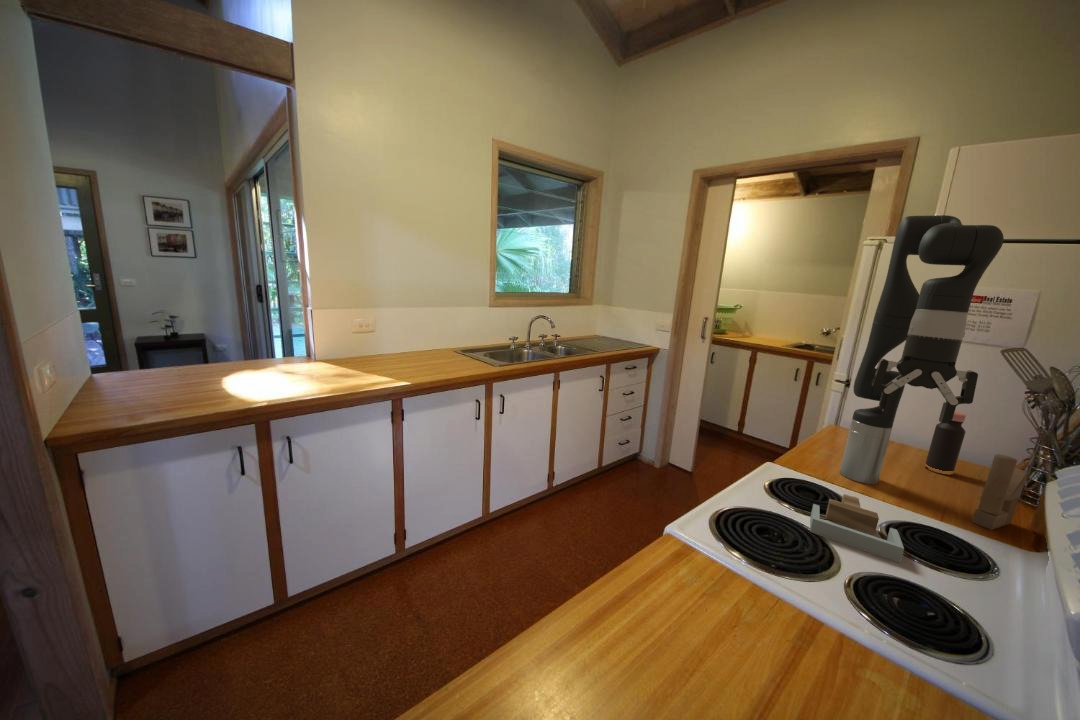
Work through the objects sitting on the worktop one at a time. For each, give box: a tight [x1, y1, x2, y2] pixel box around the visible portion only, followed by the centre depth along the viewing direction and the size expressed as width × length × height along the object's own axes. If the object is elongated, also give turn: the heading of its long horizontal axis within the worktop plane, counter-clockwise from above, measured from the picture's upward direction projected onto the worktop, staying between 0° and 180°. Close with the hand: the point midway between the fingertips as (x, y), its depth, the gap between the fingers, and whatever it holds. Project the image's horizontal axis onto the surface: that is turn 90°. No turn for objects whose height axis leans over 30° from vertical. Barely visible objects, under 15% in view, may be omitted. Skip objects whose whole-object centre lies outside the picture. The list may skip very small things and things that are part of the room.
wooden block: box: [971, 453, 1029, 531], centre depth 99 cm, size 4×11×18 cm, turn 113°
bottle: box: [925, 411, 967, 472], centre depth 130 cm, size 7×7×20 cm
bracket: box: [809, 503, 905, 564], centre depth 88 cm, size 8×15×3 cm, turn 55°
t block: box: [825, 493, 880, 536], centre depth 96 cm, size 9×9×4 cm
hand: (912, 416), depth 79 cm, fingers open, 8 cm apart
